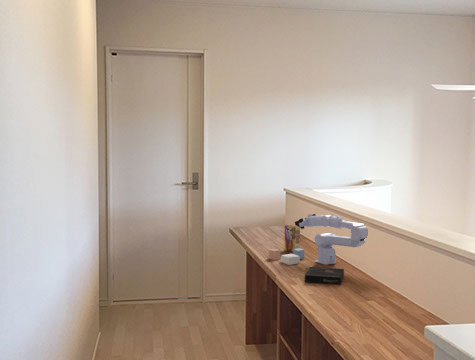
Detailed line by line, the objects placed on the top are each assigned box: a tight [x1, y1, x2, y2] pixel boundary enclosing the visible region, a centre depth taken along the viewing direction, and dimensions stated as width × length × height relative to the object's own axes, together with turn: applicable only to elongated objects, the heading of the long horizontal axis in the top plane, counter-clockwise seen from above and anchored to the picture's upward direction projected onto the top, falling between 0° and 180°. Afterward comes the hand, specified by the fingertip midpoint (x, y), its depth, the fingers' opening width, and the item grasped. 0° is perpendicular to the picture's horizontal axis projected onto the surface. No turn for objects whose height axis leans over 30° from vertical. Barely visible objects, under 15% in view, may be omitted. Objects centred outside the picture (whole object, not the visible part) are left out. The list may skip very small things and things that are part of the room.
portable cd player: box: [304, 266, 345, 286], centre depth 268 cm, size 16×17×4 cm
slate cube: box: [292, 247, 305, 260], centre depth 312 cm, size 4×4×5 cm
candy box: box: [284, 224, 301, 253], centre depth 330 cm, size 9×4×15 cm, turn 39°
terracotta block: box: [268, 248, 281, 261], centre depth 311 cm, size 4×4×5 cm
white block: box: [280, 253, 301, 266], centre depth 302 cm, size 7×7×4 cm
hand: (300, 221), depth 317 cm, fingers open, 7 cm apart
